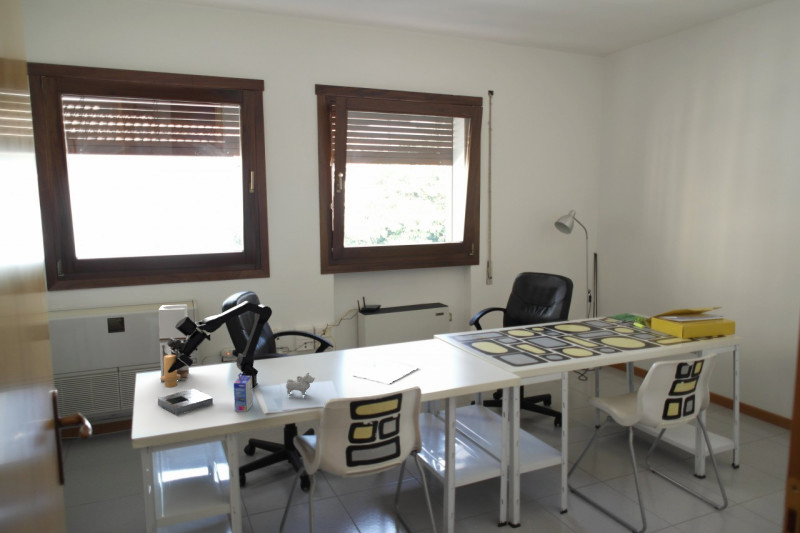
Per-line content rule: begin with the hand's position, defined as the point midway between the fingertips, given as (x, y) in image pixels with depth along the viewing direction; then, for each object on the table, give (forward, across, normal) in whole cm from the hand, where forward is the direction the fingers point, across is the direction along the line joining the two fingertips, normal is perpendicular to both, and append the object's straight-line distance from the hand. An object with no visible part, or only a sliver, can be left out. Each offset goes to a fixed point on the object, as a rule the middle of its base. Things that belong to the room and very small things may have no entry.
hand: (167, 370), depth 223 cm
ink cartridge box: (-8, +23, +28) cm, 37 cm away
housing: (+6, +8, +13) cm, 17 cm away
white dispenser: (+4, -30, +16) cm, 34 cm away
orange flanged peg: (+4, 0, +6) cm, 7 cm away
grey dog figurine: (-26, +23, +46) cm, 58 cm away
